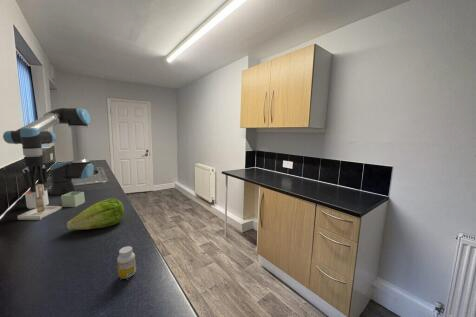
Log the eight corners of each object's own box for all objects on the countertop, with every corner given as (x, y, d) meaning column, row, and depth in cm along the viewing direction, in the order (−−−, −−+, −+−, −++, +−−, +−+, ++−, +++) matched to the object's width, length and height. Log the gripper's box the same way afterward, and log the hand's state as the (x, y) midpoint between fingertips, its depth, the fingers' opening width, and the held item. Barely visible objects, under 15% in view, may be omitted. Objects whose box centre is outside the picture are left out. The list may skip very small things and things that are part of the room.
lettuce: (65, 214, 102) (60, 209, 91) (118, 198, 118) (120, 191, 106) (72, 241, 100) (69, 240, 89) (126, 221, 115) (129, 217, 104)
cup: (53, 204, 133) (51, 189, 132) (36, 210, 123) (34, 194, 122) (39, 203, 134) (37, 188, 133) (22, 209, 124) (20, 193, 123)
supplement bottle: (123, 269, 73) (121, 245, 72) (138, 269, 73) (137, 244, 72) (115, 281, 68) (113, 254, 66) (132, 280, 68) (130, 254, 67)
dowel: (40, 210, 118) (37, 184, 116) (45, 210, 118) (42, 184, 116) (35, 212, 115) (32, 185, 113) (41, 212, 115) (37, 185, 113)
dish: (42, 209, 124) (41, 205, 124) (61, 209, 124) (61, 206, 124) (18, 219, 110) (17, 215, 110) (40, 220, 110) (39, 215, 110)
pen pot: (72, 203, 135) (71, 191, 134) (85, 203, 135) (83, 191, 134) (62, 207, 127) (60, 195, 126) (75, 208, 127) (74, 195, 126)
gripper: (40, 153, 120) (45, 191, 123) (10, 157, 104) (17, 201, 107) (52, 154, 120) (57, 191, 123) (25, 157, 104) (31, 201, 108)
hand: (38, 196), depth 115 cm, fingers closed on dowel, 3 cm apart
